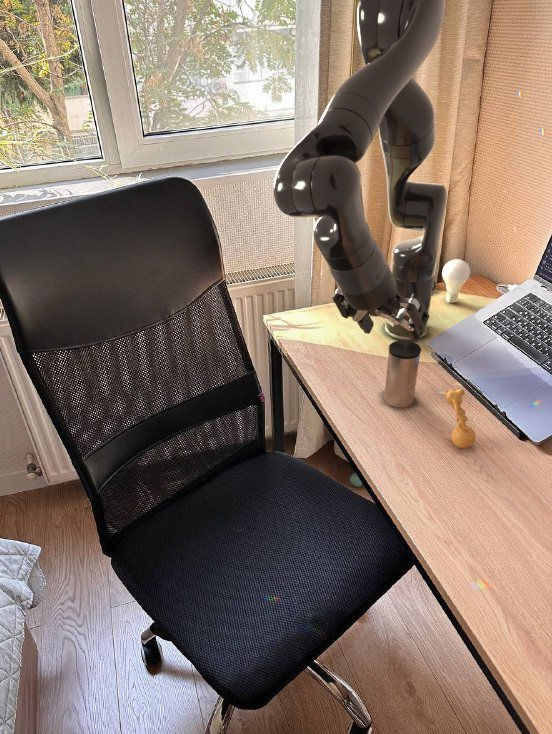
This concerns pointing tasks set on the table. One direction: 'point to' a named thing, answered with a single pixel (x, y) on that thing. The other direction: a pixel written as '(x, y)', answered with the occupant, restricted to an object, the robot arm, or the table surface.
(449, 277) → the lightbulb
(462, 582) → the table surface
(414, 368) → the canister
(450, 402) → the figurine
